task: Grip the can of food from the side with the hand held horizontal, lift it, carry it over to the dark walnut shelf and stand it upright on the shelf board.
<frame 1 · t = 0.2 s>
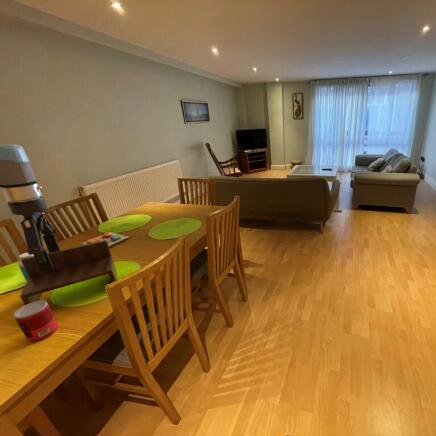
hand: (51, 260, 79), 26 cm above the table, tool pointing down, fingers open, 13 cm apart
shelf: (78, 289, 105), on the table
pill bottle: (38, 279, 112), on the table
puzzle board: (106, 242, 147), on the table
canned food: (43, 333, 84), on the table
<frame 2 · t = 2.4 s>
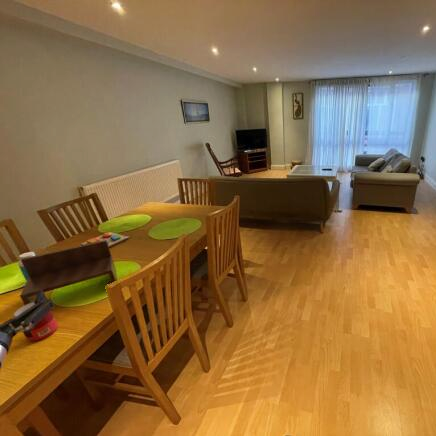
hand: (9, 302, 69), 20 cm above the table, tool horizontal, fingers open, 13 cm apart
nothing on the table moved.
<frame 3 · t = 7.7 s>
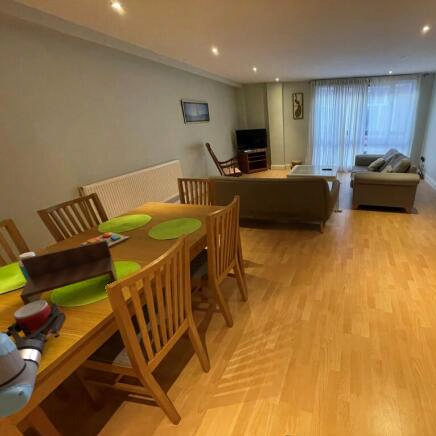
hand: (39, 311, 85), 6 cm above the table, tool horizontal, fingers closed on canned food, 8 cm apart
canned food: (43, 333, 84), on the table, touching gripper
everything else where it was.
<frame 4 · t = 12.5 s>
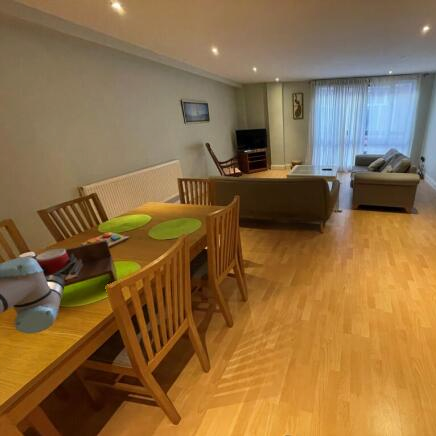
hand: (58, 259, 91), 20 cm above the table, tool horizontal, fingers closed on canned food, 8 cm apart
canned food: (62, 279, 89), point 14 cm above the table, touching gripper
everything else where it was.
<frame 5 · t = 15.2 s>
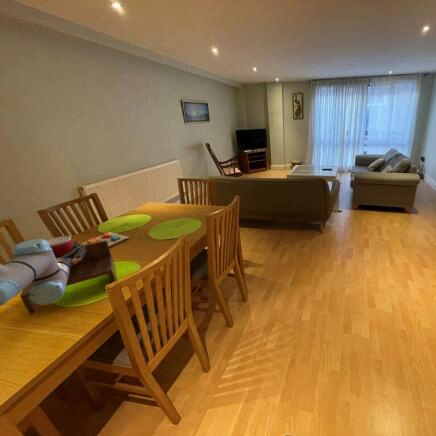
hand: (64, 246, 101), 20 cm above the table, tool horizontal, fingers closed on canned food, 8 cm apart
canned food: (67, 264, 100), point 14 cm above the table, touching gripper
everything else where it was.
when the fingers open (15 cm above the table, at t = 17.1 s): canned food stays where it is, resting on shelf.
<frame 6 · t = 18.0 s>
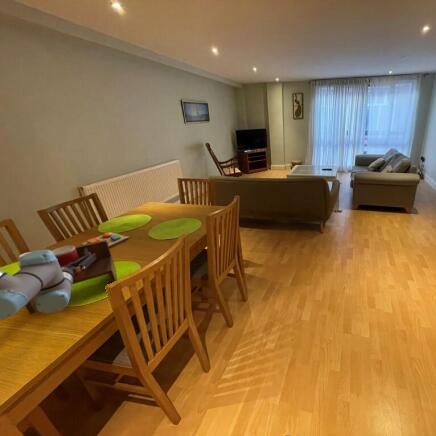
hand: (66, 255, 102), 16 cm above the table, tool horizontal, fingers open, 13 cm apart
canned food: (71, 272, 102), point 9 cm above the table, touching shelf
everything else where it was.
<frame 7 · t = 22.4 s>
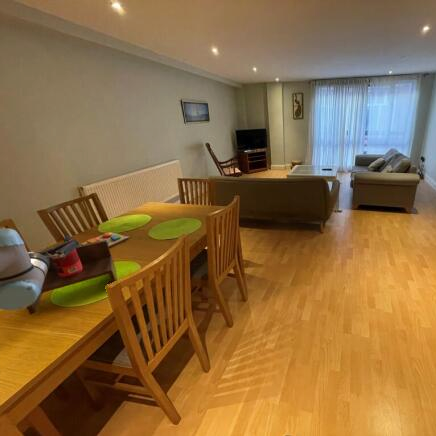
hand: (43, 241, 85), 29 cm above the table, tool horizontal, fingers open, 13 cm apart
nothing on the table moved.
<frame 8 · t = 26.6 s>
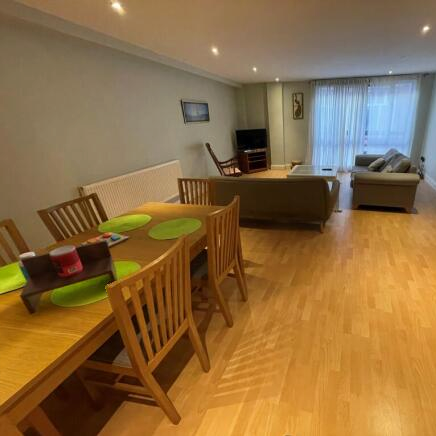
nothing on the table moved.
at the end: canned food inside the target area on the shelf (0.1 cm from its centre), point 8.8 cm above the shelf's base; canned food tilted 0°; the gripper is holding nothing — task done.
